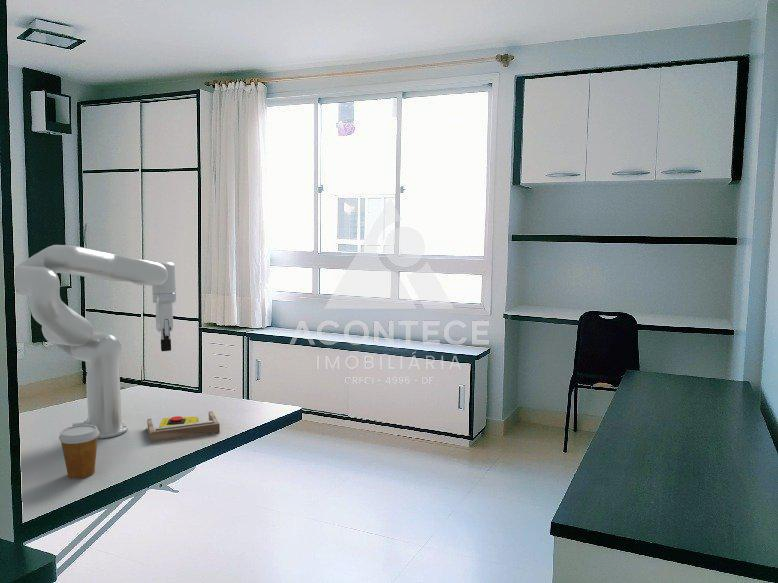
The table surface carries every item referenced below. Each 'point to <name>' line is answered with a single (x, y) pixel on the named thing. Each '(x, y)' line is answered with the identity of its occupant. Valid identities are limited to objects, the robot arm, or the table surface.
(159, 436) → the dock
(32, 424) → the table surface
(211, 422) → the catch plate
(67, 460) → the disposable coffee cup
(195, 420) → the emergency button
